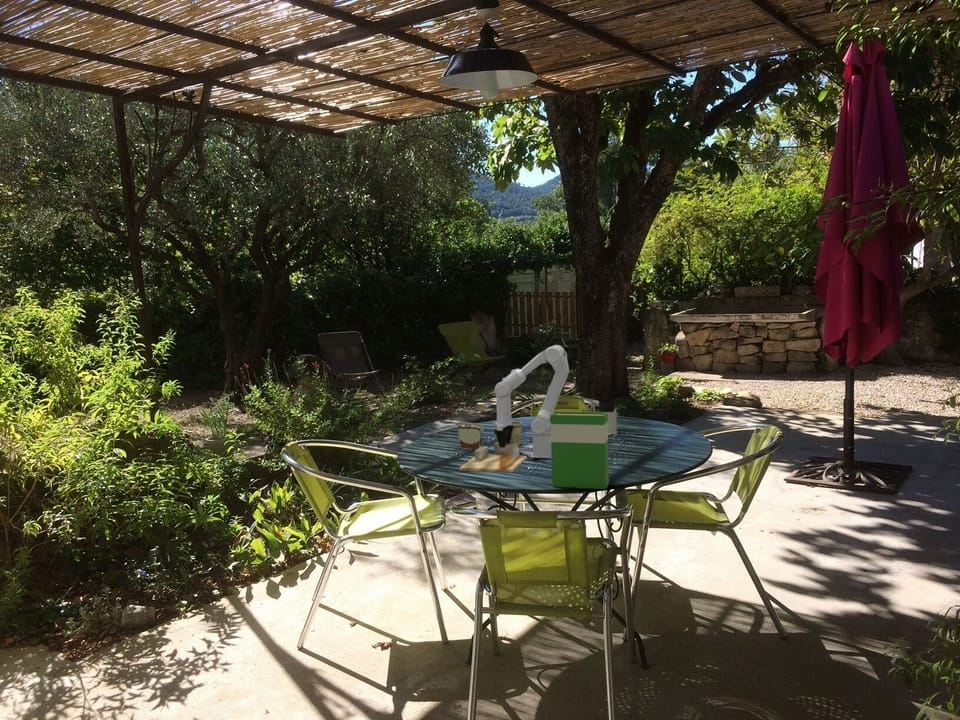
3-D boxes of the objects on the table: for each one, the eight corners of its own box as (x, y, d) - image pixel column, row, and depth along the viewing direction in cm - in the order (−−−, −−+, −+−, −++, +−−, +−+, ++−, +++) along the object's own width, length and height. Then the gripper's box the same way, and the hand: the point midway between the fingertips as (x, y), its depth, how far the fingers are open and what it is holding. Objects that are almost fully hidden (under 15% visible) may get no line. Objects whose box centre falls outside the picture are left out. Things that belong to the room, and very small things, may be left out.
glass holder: (619, 435, 334) (618, 401, 332) (587, 436, 334) (586, 403, 333) (616, 432, 342) (615, 399, 341) (584, 433, 343) (584, 400, 341)
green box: (552, 486, 250) (550, 415, 248) (556, 481, 257) (555, 411, 255) (605, 489, 245) (604, 415, 243) (608, 483, 252) (607, 412, 250)
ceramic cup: (521, 449, 312) (520, 425, 311) (497, 449, 314) (496, 425, 313) (525, 442, 325) (524, 419, 324) (502, 442, 327) (501, 419, 326)
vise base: (526, 458, 294) (526, 446, 294) (512, 472, 272) (511, 459, 272) (477, 457, 300) (477, 445, 299) (459, 470, 278) (459, 457, 277)
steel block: (516, 454, 302) (516, 442, 302) (513, 456, 299) (513, 444, 298) (497, 454, 305) (496, 441, 304) (494, 456, 301) (494, 443, 300)
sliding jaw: (519, 456, 293) (519, 447, 292) (506, 467, 274) (505, 458, 273) (513, 455, 293) (512, 447, 293) (499, 467, 274) (499, 458, 274)
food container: (489, 447, 317) (489, 424, 317) (482, 450, 312) (481, 426, 311) (464, 445, 324) (464, 422, 323) (457, 448, 318) (456, 424, 318)
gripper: (499, 408, 308) (499, 441, 309) (489, 414, 294) (490, 448, 296) (515, 408, 306) (516, 442, 307) (506, 414, 292) (507, 449, 294)
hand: (504, 445), depth 301 cm, fingers open, 7 cm apart
